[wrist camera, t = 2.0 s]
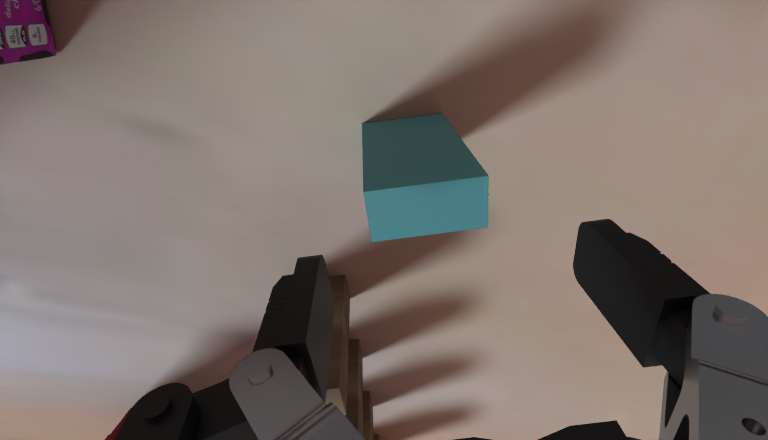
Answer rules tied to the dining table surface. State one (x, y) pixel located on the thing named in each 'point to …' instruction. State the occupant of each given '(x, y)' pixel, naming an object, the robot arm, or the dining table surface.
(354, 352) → the walnut domino
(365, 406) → the walnut domino
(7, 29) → the candy bar box
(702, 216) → the dining table surface
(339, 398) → the walnut domino
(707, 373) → the robot arm
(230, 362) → the dining table surface
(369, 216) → the teal domino
